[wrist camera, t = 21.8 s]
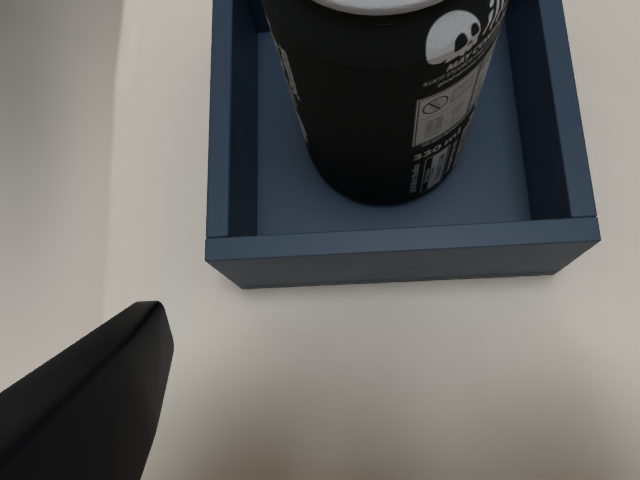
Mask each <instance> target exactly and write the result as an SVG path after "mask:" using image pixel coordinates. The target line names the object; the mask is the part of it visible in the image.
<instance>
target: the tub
mask: <svg viewBox="0 0 640 480" xmlns="http://www.w3.org/2000/svg"><path fill="white" fill-rule="evenodd" d="M596 216H597V213H596V207H595V201H594V194H593V188H592V182H591V176H590V170H589V164H588V158H587V152H586V146H585V139H584V133H583V127H582V121H581V115H580V109H579V103H578V97H577V91H576V84H575V78H574V72H573V66H572V60H571V54H570V48H569V42H568V36H567V29H566V23H565V17H564V11H563V5H562V0H509V2H508V5H507V9H506V12H505V15H504V18H503V21H502V25H501V28H500V31H499V34H498V38H497V41H496V44H495V47H494V50H493V54H492V57H491V60H490V63H489V67H488V70H487V73H486V76H485V79H484V83H483V86H482V89H481V92H480V96H479V99H478V102H477V105H476V108H475V112H474V115H473V118H472V121H471V125H470V128H469V131H468V134H467V137H466V141H465V144H464V147H463V150H462V153H461V155H460V157H459V159H458V161H457V163H456V164H455V166H454V167H453V169H452V170H451V171H450V172H449V174H448V175H447V176H446V177H445V178H444V179H443V180H442V181H440V182H439V183H438V184H437V185H435V186H434V187H432V188H431V189H429V190H428V191H426V192H424V193H422V194H420V195H417V196H415V197H412V198H409V199H406V200H401V201H395V202H373V201H367V200H362V199H359V198H356V197H353V196H350V195H348V194H346V193H344V192H342V191H340V190H339V189H337V188H336V187H334V186H333V185H332V184H331V183H329V182H328V181H327V180H326V179H325V178H324V177H323V176H322V175H321V173H320V172H319V171H318V170H317V168H316V167H315V165H314V163H313V161H312V159H311V157H310V155H309V152H308V149H307V146H306V143H305V139H304V136H303V133H302V130H301V127H300V123H299V120H298V117H297V114H296V111H295V107H294V104H293V101H292V98H291V95H290V91H289V88H288V85H287V82H286V79H285V75H284V72H283V69H282V66H281V63H280V59H279V56H278V53H277V50H276V47H275V43H274V40H273V37H272V34H271V31H270V27H269V24H268V21H267V18H266V15H265V11H264V8H263V5H262V2H261V0H213V11H212V46H211V80H210V115H209V149H208V183H207V218H206V237H207V239H206V240H205V261H206V262H207V263H208V264H210V265H211V266H212V267H214V268H215V269H216V270H218V271H219V272H220V273H222V274H223V275H224V276H226V277H227V278H228V279H230V280H231V281H232V282H234V283H235V284H236V285H238V286H239V287H240V288H242V289H251V288H273V287H294V286H316V285H337V284H359V283H380V282H402V281H423V280H445V279H466V278H488V277H509V276H531V275H552V274H555V273H557V272H558V271H560V270H561V269H563V268H564V267H565V266H567V265H568V264H569V263H571V262H572V261H573V260H575V259H576V258H578V257H579V256H580V255H582V254H583V253H584V252H586V251H587V250H589V249H590V248H591V247H593V246H594V245H595V244H597V243H598V242H599V241H601V237H600V230H599V224H598V218H597V217H596Z"/></svg>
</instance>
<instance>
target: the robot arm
mask: <svg viewBox="0 0 640 480" xmlns="http://www.w3.org/2000/svg"><path fill="white" fill-rule="evenodd" d="M173 351H174V342H173V337H172V333H171V330H170V326H169V323H168V319H167V316H166V312H165V309H164V306H163V305H162V303H160V302H159V301H141V302H135V303H134V304H132V305H131V306H129V307H128V308H126V309H125V310H123V311H122V312H120V313H119V314H117V315H116V316H114V317H113V318H111V319H110V320H108V321H107V322H105V323H104V324H102V325H101V326H99V327H98V328H96V329H95V330H93V331H92V332H90V333H89V334H88V335H86V336H85V337H83V338H81V339H80V340H79V341H77V342H76V343H74V344H73V345H71V346H70V347H68V348H67V349H65V350H64V351H62V352H61V353H59V354H58V355H56V356H55V357H53V358H52V359H50V360H49V361H47V362H46V363H44V364H43V365H41V366H40V367H38V368H37V369H35V370H34V371H33V372H31V373H29V374H28V375H26V376H25V377H23V378H22V379H20V380H19V381H17V382H16V383H14V384H13V385H11V386H10V387H9V388H7V389H6V390H4V391H2V392H1V393H0V480H140V479H141V476H142V473H143V470H144V467H145V464H146V461H147V458H148V455H149V452H150V449H151V446H152V443H153V440H154V437H155V433H156V430H157V426H158V422H159V417H160V413H161V408H162V403H163V399H164V394H165V389H166V385H167V380H168V375H169V371H170V366H171V361H172V357H173Z"/></svg>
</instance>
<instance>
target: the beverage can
mask: <svg viewBox="0 0 640 480" xmlns="http://www.w3.org/2000/svg"><path fill="white" fill-rule="evenodd" d="M261 2H262V5H263V8H264V11H265V15H266V18H267V21H268V24H269V27H270V31H271V34H272V37H273V40H274V43H275V47H276V50H277V53H278V56H279V59H280V63H281V66H282V69H283V72H284V75H285V79H286V82H287V85H288V88H289V91H290V95H291V98H292V101H293V104H294V107H295V111H296V114H297V117H298V120H299V123H300V127H301V130H302V133H303V136H304V139H305V143H306V146H307V149H308V152H309V155H310V157H311V159H312V161H313V163H314V165H315V167H316V168H317V170H318V171H319V172H320V173H321V175H322V176H323V177H324V178H325V179H326V180H327V181H328V182H329V183H331V184H332V185H333V186H334V187H336V188H337V189H339V190H340V191H342V192H344V193H346V194H348V195H350V196H353V197H356V198H359V199H362V200H367V201H373V202H395V201H401V200H406V199H409V198H412V197H415V196H417V195H420V194H422V193H424V192H426V191H428V190H429V189H431V188H432V187H434V186H435V185H437V184H438V183H439V182H440V181H442V180H443V179H444V178H445V177H446V176H447V175H448V174H449V172H450V171H451V170H452V169H453V167H454V166H455V164H456V163H457V161H458V159H459V157H460V155H461V153H462V150H463V147H464V144H465V141H466V137H467V134H468V131H469V128H470V125H471V121H472V118H473V115H474V112H475V108H476V105H477V102H478V99H479V96H480V92H481V89H482V86H483V83H484V79H485V76H486V73H487V70H488V67H489V63H490V60H491V57H492V54H493V50H494V47H495V44H496V41H497V38H498V34H499V31H500V28H501V25H502V21H503V18H504V15H505V12H506V9H507V5H508V2H509V0H261Z"/></svg>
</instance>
